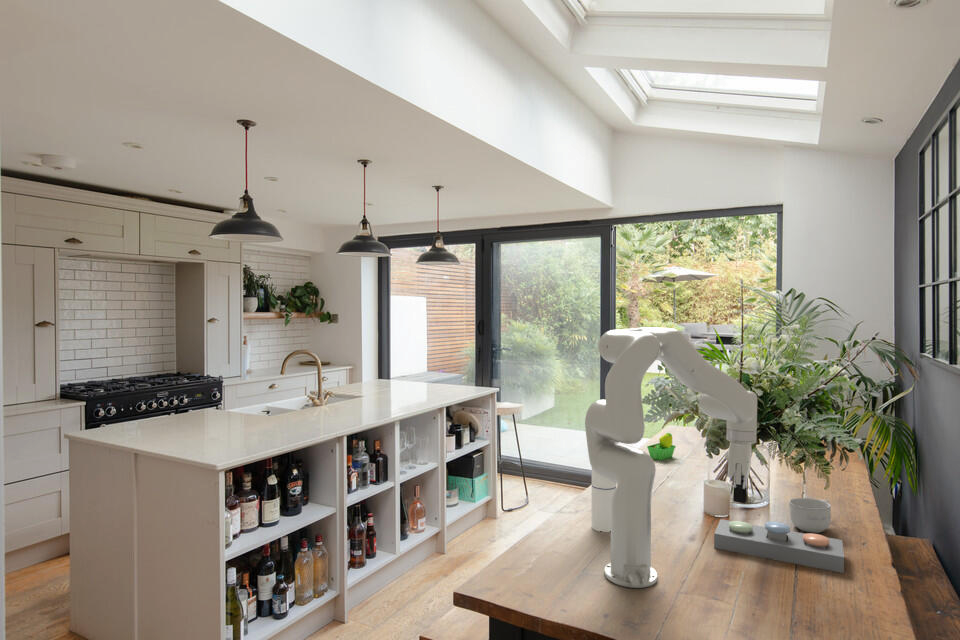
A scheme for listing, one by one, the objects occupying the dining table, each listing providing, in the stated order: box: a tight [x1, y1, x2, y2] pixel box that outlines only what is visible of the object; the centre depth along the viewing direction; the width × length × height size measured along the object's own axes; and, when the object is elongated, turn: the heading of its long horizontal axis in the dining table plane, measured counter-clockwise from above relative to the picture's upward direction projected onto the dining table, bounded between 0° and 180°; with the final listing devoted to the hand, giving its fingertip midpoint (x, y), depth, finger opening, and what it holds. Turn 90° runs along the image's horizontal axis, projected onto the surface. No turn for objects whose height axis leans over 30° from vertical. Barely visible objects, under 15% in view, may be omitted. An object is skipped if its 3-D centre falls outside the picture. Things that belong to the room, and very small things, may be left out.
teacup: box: [788, 497, 832, 534], centre depth 171 cm, size 14×11×8 cm
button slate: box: [764, 521, 791, 542], centre depth 155 cm, size 6×6×4 cm
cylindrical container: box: [591, 468, 617, 533], centre depth 172 cm, size 7×7×25 cm
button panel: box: [713, 518, 845, 574], centre depth 155 cm, size 30×12×4 cm, turn 60°
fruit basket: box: [646, 432, 676, 461], centre depth 250 cm, size 11×9×11 cm
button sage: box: [729, 520, 753, 535], centre depth 160 cm, size 6×6×4 cm
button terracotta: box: [803, 532, 829, 549], centre depth 151 cm, size 6×6×4 cm
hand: (739, 501), depth 159 cm, fingers closed
